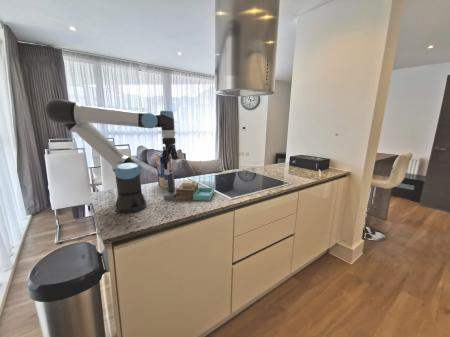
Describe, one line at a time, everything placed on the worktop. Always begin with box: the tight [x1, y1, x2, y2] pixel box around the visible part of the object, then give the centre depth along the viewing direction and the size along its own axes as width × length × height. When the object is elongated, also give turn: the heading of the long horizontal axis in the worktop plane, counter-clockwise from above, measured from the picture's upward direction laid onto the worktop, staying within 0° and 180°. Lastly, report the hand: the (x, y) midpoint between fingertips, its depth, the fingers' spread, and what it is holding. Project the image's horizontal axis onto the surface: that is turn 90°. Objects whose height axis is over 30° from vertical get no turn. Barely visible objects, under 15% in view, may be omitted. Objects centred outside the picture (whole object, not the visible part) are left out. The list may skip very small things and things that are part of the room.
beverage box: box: [155, 154, 173, 189], centre depth 151 cm, size 7×11×22 cm, turn 34°
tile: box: [181, 179, 195, 188], centre depth 130 cm, size 6×6×3 cm
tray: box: [193, 187, 215, 201], centre depth 130 cm, size 15×10×3 cm, turn 174°
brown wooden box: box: [176, 182, 199, 201], centre depth 130 cm, size 14×10×6 cm
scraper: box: [163, 172, 178, 201], centre depth 131 cm, size 16×6×14 cm, turn 174°
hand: (171, 171), depth 129 cm, fingers open, 13 cm apart
